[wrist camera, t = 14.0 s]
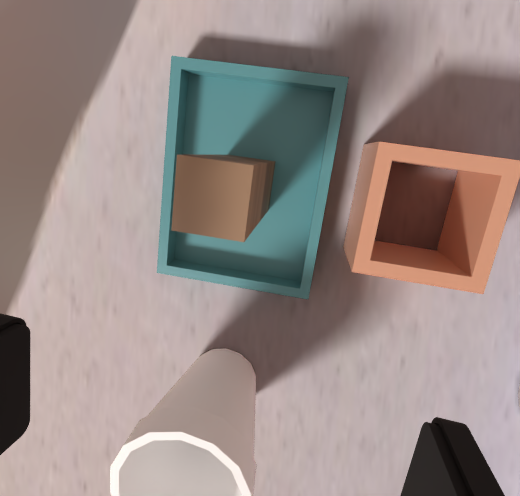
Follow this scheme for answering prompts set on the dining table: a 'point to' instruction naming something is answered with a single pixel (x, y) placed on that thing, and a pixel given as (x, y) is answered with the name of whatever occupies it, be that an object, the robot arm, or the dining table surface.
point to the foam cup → (195, 435)
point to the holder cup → (455, 225)
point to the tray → (260, 147)
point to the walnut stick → (221, 195)
